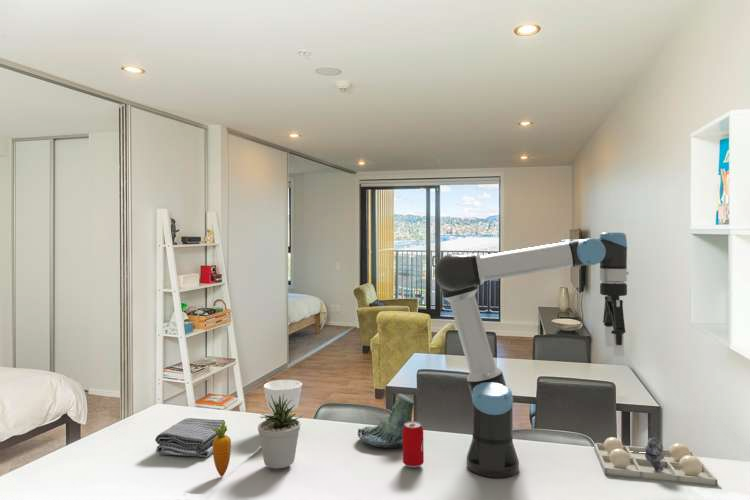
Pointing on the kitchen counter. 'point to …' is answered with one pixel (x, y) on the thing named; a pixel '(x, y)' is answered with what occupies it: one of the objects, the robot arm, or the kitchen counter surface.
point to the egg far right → (678, 451)
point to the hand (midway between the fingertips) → (613, 351)
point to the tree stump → (390, 425)
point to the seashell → (655, 453)
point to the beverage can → (413, 444)
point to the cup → (283, 386)
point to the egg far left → (612, 444)
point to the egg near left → (619, 458)
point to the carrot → (221, 450)
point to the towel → (189, 438)
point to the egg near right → (690, 465)
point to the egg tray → (651, 467)
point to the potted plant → (279, 436)
